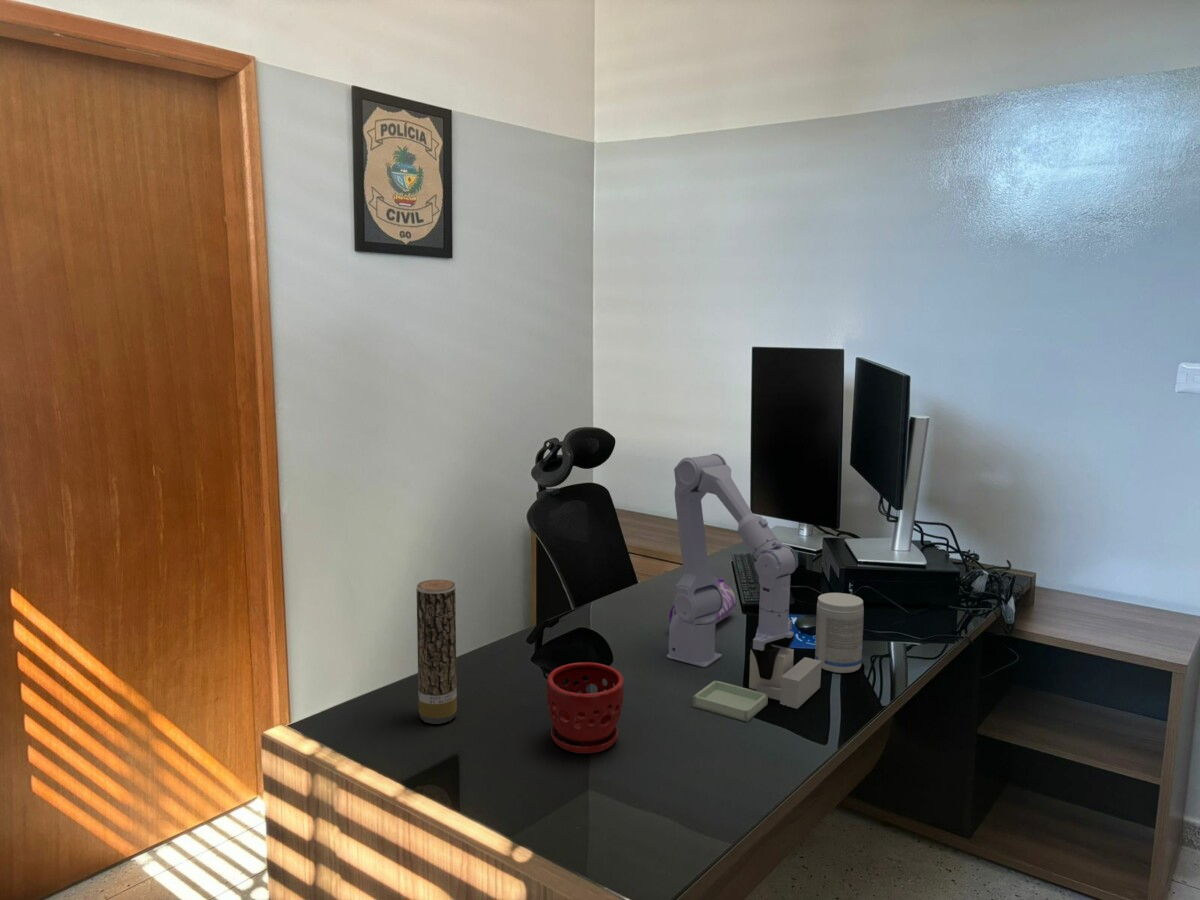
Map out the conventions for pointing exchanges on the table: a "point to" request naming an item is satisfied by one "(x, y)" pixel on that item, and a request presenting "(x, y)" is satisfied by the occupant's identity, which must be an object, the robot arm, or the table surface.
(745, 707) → the tray
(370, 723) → the table surface
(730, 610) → the pencil case
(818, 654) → the supplement tub
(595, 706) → the plant pot
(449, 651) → the paper tube
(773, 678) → the taupe rectangular block
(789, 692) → the dock
